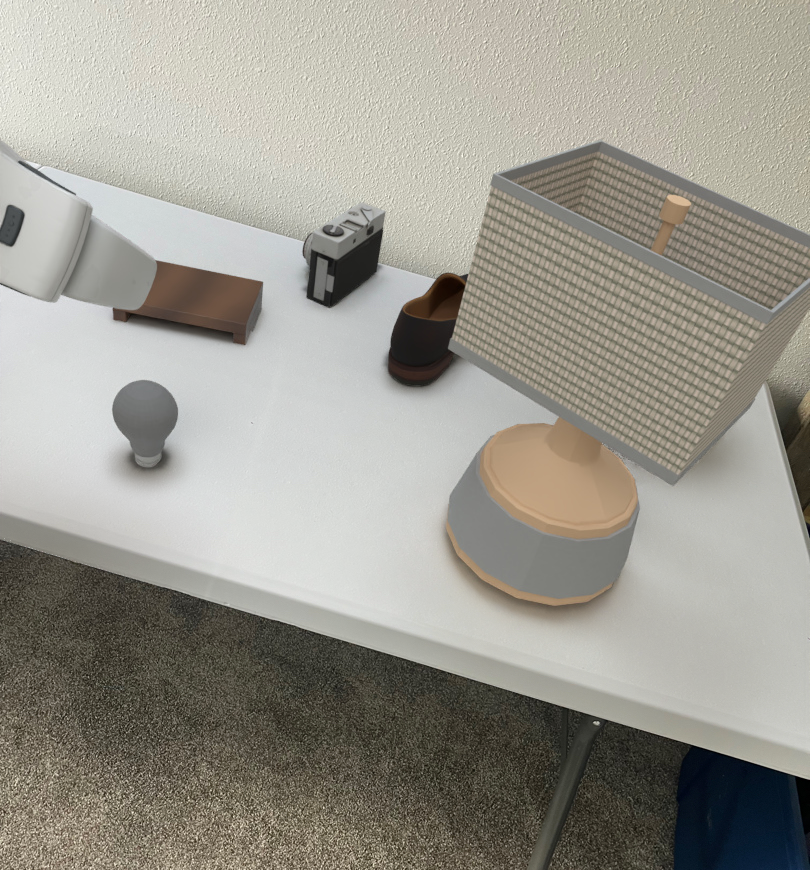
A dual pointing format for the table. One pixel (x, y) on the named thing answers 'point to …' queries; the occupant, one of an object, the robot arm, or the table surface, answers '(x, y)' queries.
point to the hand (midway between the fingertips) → (67, 240)
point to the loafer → (426, 332)
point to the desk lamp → (609, 354)
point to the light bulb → (145, 418)
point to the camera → (343, 253)
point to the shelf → (202, 300)
